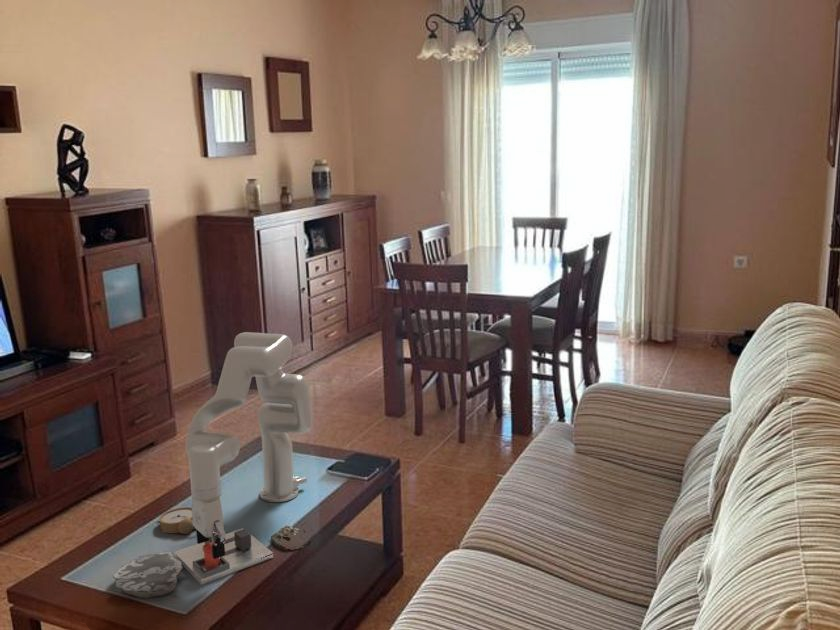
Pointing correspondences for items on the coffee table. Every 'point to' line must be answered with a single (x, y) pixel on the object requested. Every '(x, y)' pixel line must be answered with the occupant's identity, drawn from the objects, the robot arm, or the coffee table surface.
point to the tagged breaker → (211, 539)
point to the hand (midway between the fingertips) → (211, 549)
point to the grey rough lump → (285, 532)
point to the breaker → (242, 539)
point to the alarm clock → (177, 521)
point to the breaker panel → (222, 559)
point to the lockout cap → (210, 557)
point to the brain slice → (149, 575)
